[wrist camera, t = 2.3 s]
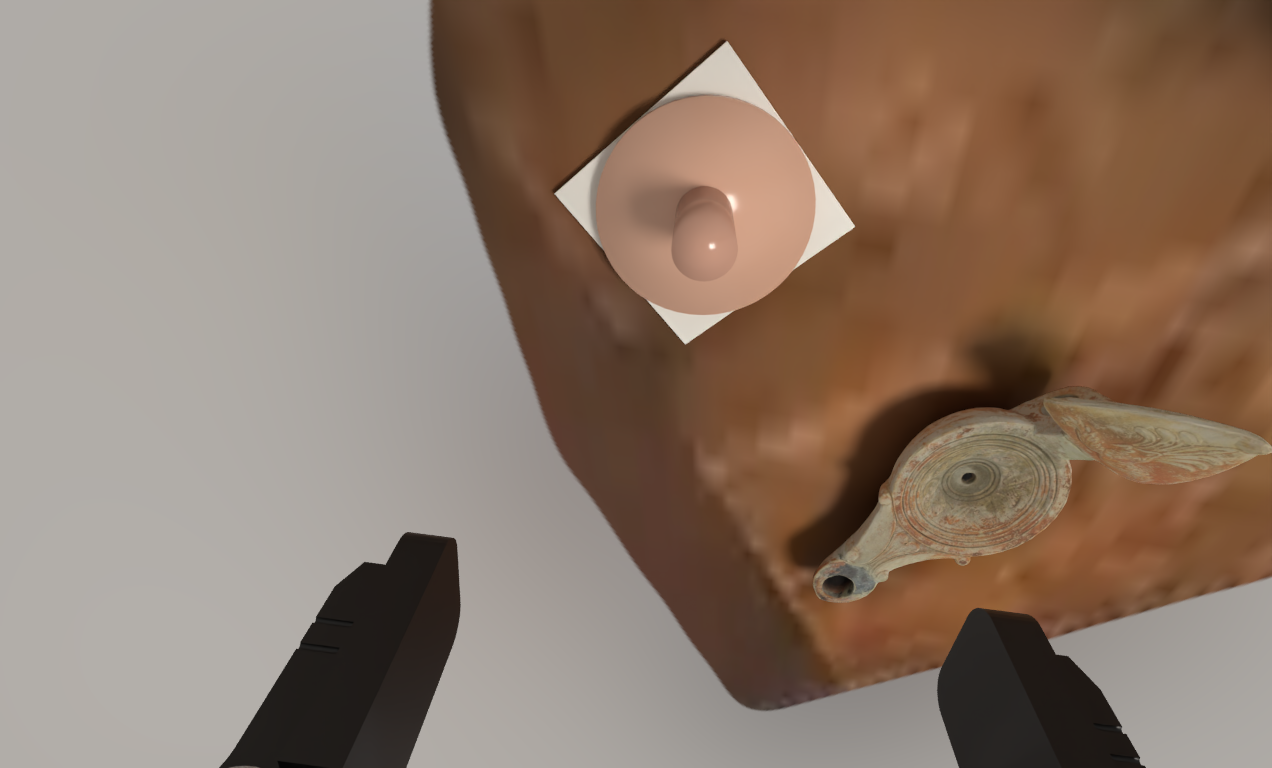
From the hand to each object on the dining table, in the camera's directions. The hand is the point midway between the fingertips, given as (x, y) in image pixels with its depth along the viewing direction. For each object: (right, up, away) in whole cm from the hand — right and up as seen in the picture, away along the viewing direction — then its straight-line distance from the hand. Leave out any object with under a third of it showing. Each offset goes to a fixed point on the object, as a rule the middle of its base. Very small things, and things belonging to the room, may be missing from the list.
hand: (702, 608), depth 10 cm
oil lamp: (+17, -1, +27) cm, 32 cm away
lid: (+2, +12, +21) cm, 24 cm away
